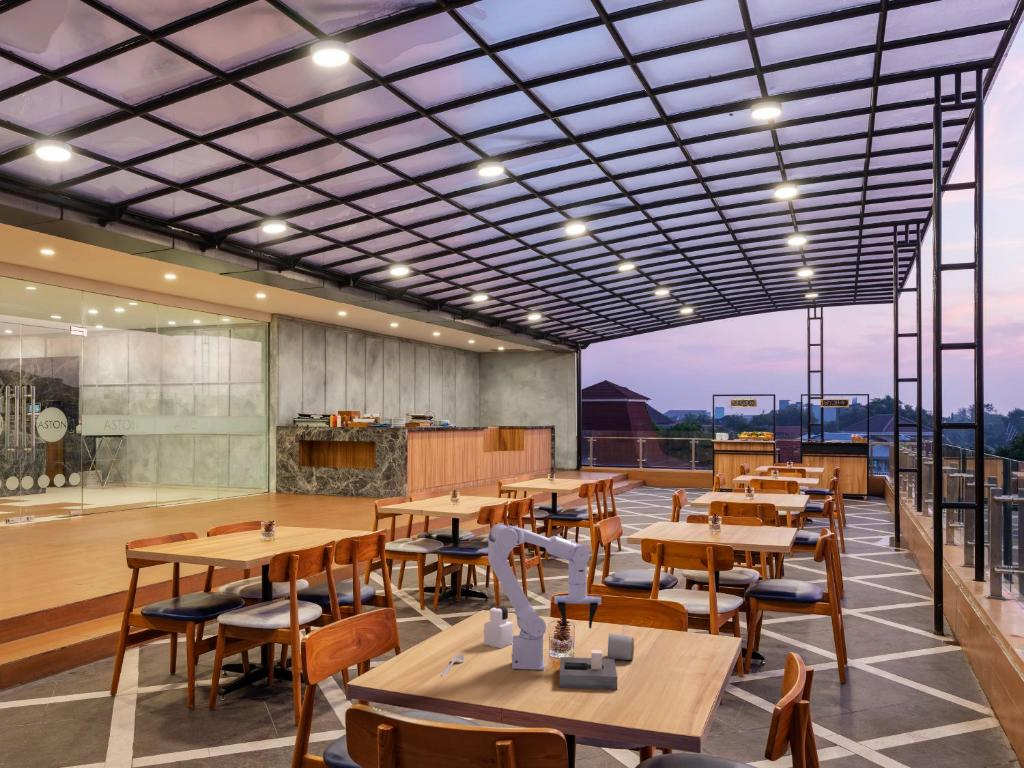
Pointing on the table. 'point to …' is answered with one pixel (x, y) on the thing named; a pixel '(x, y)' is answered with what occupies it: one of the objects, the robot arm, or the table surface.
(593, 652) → the peg
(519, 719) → the table surface
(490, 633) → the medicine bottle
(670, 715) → the table surface
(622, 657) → the ceramic mug
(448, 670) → the spoon
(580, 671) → the keyhole plate
